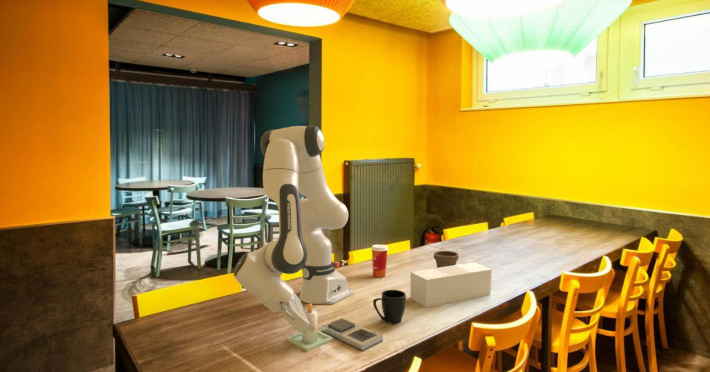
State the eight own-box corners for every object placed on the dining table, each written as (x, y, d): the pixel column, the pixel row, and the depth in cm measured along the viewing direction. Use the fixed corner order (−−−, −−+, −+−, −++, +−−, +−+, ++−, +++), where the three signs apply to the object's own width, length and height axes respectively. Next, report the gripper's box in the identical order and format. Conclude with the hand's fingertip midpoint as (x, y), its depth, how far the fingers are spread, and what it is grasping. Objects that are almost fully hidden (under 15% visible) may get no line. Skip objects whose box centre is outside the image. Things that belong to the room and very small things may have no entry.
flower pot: (430, 271, 203) (430, 250, 202) (453, 270, 204) (453, 250, 203) (437, 278, 192) (437, 257, 191) (461, 278, 193) (462, 256, 192)
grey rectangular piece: (341, 325, 142) (342, 315, 142) (382, 343, 130) (382, 333, 129) (321, 333, 136) (321, 323, 136) (362, 353, 123) (362, 342, 123)
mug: (367, 319, 147) (367, 293, 146) (397, 314, 152) (397, 288, 151) (379, 329, 139) (379, 301, 138) (409, 322, 145) (410, 295, 144)
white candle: (310, 335, 133) (310, 300, 132) (320, 340, 130) (320, 304, 129) (299, 340, 130) (299, 304, 129) (308, 345, 127) (308, 308, 125)
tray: (312, 331, 137) (312, 327, 137) (332, 342, 130) (332, 337, 130) (286, 342, 130) (286, 337, 130) (307, 353, 123) (307, 348, 123)
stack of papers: (472, 286, 182) (473, 262, 181) (490, 294, 173) (491, 269, 171) (410, 298, 168) (410, 271, 167) (426, 307, 158) (426, 279, 157)
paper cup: (371, 272, 199) (372, 243, 198) (388, 273, 198) (388, 244, 197) (370, 278, 191) (370, 247, 190) (387, 279, 190) (387, 248, 189)
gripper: (290, 301, 116) (325, 332, 120) (283, 278, 136) (313, 305, 140) (274, 319, 116) (310, 349, 119) (269, 293, 135) (299, 319, 139)
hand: (311, 325), depth 130 cm, fingers closed on white candle, 5 cm apart
